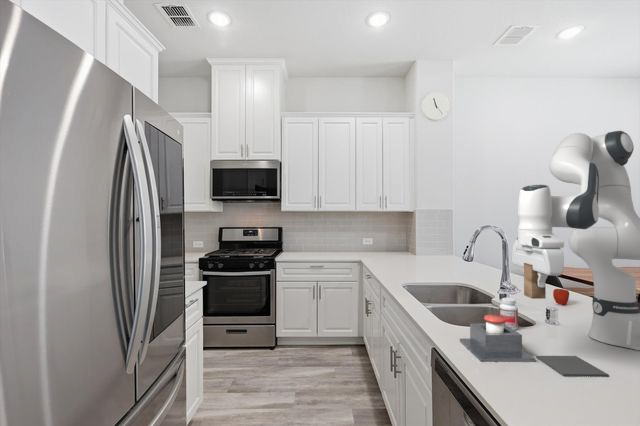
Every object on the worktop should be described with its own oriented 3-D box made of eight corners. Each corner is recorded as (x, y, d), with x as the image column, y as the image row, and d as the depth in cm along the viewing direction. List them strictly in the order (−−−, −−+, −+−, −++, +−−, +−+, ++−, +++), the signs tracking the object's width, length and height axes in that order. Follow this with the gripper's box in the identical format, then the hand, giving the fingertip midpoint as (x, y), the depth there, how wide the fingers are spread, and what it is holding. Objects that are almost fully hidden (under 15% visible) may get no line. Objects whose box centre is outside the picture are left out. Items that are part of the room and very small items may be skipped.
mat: (575, 357, 105) (575, 355, 105) (608, 376, 93) (608, 374, 93) (536, 357, 105) (536, 355, 105) (563, 376, 93) (563, 374, 93)
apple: (551, 304, 165) (551, 288, 165) (555, 302, 169) (555, 286, 169) (567, 307, 161) (567, 291, 161) (570, 304, 165) (570, 289, 165)
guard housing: (506, 341, 118) (506, 321, 118) (535, 361, 102) (535, 338, 102) (459, 341, 118) (459, 321, 118) (480, 361, 102) (480, 338, 102)
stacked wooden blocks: (537, 295, 106) (537, 262, 106) (545, 298, 102) (545, 264, 102) (524, 295, 106) (523, 262, 106) (531, 298, 102) (531, 264, 102)
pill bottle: (507, 324, 136) (507, 296, 136) (521, 329, 130) (521, 300, 130) (495, 326, 134) (495, 297, 133) (509, 331, 128) (509, 301, 128)
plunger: (499, 342, 113) (499, 314, 113) (509, 349, 107) (509, 320, 107) (481, 342, 113) (481, 314, 113) (489, 349, 107) (489, 320, 107)
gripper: (506, 236, 114) (506, 277, 114) (544, 242, 94) (545, 293, 94) (525, 235, 114) (525, 277, 114) (568, 242, 93) (568, 293, 94)
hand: (534, 284), depth 104 cm, fingers closed on stacked wooden blocks, 4 cm apart
